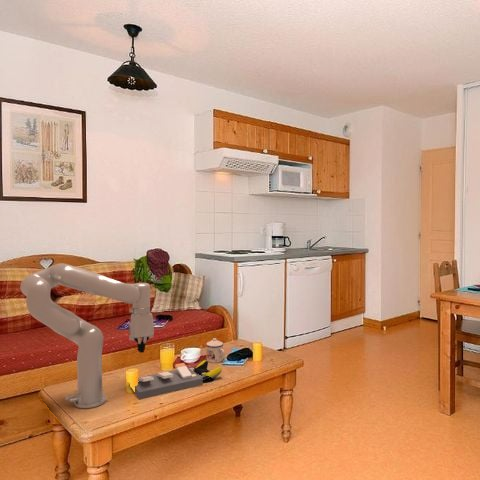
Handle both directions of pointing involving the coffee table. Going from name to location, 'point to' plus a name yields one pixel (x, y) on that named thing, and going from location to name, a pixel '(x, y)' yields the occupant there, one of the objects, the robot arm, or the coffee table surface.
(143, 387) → the switch panel
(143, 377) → the rocker left
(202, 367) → the yellow black spring clamp
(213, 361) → the teacup with lid
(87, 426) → the coffee table surface
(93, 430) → the coffee table surface
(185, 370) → the rocker right
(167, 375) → the rocker middle
